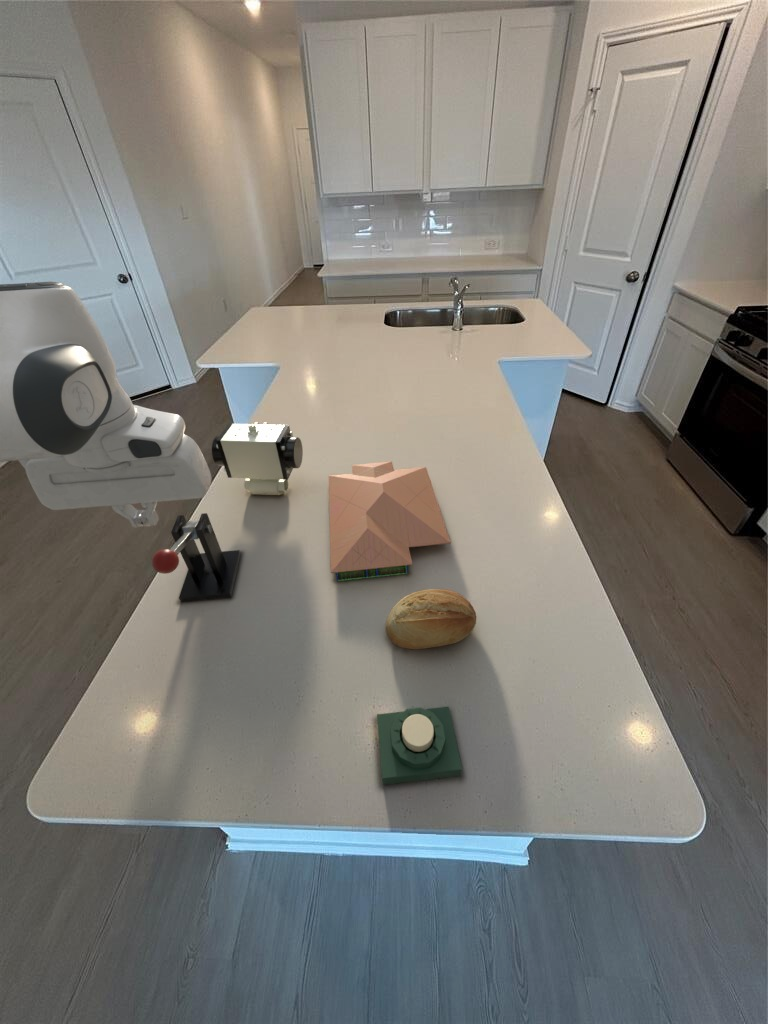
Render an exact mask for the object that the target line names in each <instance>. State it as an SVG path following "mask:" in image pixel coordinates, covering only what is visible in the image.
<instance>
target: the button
mask: <svg viewBox="0 0 768 1024" xmlns="http://www.w3.org/2000/svg"><path fill="white" fill-rule="evenodd" d="M433 735H434V728H433V725H432V723H431V721H430V720H429V719H428V718H427V717H425V716H424V715H420V714H414V715H411V716H409V717H408V718H407V719H406V720H405V721H404V723H403V726H402V739H403V742H404V744H405V745H406V747H407V748H409V749H410V750H412V751H415V752H422V751H425V750H427V749H428V748H429V747H430V746H431V744H432V742H433Z"/></svg>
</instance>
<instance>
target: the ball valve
mask: <svg viewBox="0 0 768 1024" xmlns="http://www.w3.org/2000/svg"><path fill="white" fill-rule="evenodd" d="M293 434H294V433H293V431H291V428H290V425H289V424H269V423H268V422H266V421H265V422H263V423H262V424H260V423H259V422H258V421H255V422H254V423H228V424H227V425H226V427H225V428H224V429H223V430H222V432H221V433H220V434H218V435H216V436H215V437H214V438H213V440H212V443H211V456H212V459H213V462H214V464H215V465H216V466H219V467H224V468H223V471H224V472H225V474H226V477H227V478H229V479H244V482H243V483H244V484H243V486H244V490H245V491H246V492H247V493H250V494H252V495H262V496H263V495H265V496H281V495H286V494H287V493H288V491H289V479H290V477H291V474H292V472H293V470H294V469H299V468H301V465H302V463H303V455H304V454H303V453H304V452H303V442H302V440H301V438H300V437H299V436H294V435H293Z"/></svg>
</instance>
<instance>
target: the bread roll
mask: <svg viewBox="0 0 768 1024" xmlns="http://www.w3.org/2000/svg"><path fill="white" fill-rule="evenodd" d="M386 618H387V619H386V621H385V628H384V629H385V633H386V636H387V637H388V639H389V640H390V641H391V642H392V644H394V645H396V646H398V647H400V648H403V649H408V650H421V649H429V648H435V647H442V646H447V645H448V646H449V645H453V644H456V643H459V642H460V641H462V640H464V639H466V638H467V637H468V636H469V635H470V634H471V633H472V632H473V630H474V628H475V626H476V624H477V613H476V610H475V609H474V606H473V605H472V603H471V602H470V601H469V600H468V599H467V598H466V597H464V596H463V595H462V594H460V593H458V592H456V591H453V590H449V589H440V588H431V589H430V588H429V589H422V590H418V591H414V592H412V593H409V594H408V595H405V596H404V597H402V598H401V599H400V600H399V601H398V602H397V603H395V605H394V606H393V607H392V609H391V610H390V612H389V613H388V616H387V617H386Z"/></svg>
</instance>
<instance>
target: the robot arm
mask: <svg viewBox="0 0 768 1024" xmlns="http://www.w3.org/2000/svg"><path fill="white" fill-rule="evenodd" d="M103 337H104V336H103V335H102V333H101V331H100V329H99V327H98V326H97V323H96V322H95V320H94V318H93V317H92V315H91V313H90V312H89V310H88V307H86V305H85V304H84V302H83V301H82V300H81V298H80V297H79V295H78V294H77V292H76V291H75V290H74V289H73V288H72V287H71V286H68V285H65V284H64V283H61V282H57V281H37V282H21V283H3V284H2V283H1V284H0V463H3V462H15V461H18V462H19V464H20V465H21V466H22V467H23V468H24V470H25V474H26V476H27V479H28V482H29V484H30V485H31V488H32V490H33V491H34V493H35V495H36V498H37V499H38V501H39V502H40V503H41V504H42V505H43V506H44V507H46V508H48V509H49V510H52V511H62V510H74V509H87V508H100V507H111V509H112V511H113V512H115V513H117V514H118V515H120V516H121V517H123V518H125V519H127V520H128V521H129V523H130V525H131V527H132V528H144V527H156V526H157V525H158V523H159V519H160V518H159V514H158V513H157V510H156V509H157V504H158V503H160V502H161V503H162V502H171V501H172V502H173V501H184V500H197V499H203V498H204V497H206V496H207V493H208V491H209V490H210V487H211V484H212V474H211V470H210V467H209V465H208V463H207V461H206V458H205V456H204V454H203V452H202V451H201V449H200V447H199V445H198V444H197V442H196V441H195V440H194V439H193V438H192V437H190V436H189V435H187V434H185V431H186V422H185V420H184V418H183V416H181V415H179V414H176V413H171V412H167V411H161V410H157V409H151V408H148V407H144V406H141V405H137V404H133V402H132V399H131V398H130V396H129V394H128V393H127V392H126V391H125V390H124V389H123V387H122V385H121V384H120V382H119V379H118V376H117V375H118V374H117V368H116V363H115V360H114V359H113V356H112V354H111V352H110V350H109V348H108V345H107V343H106V341H105V339H104V338H103ZM135 504H140V505H141V507H142V508H143V509H137V508H136V507H135V506H133V505H135Z"/></svg>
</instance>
